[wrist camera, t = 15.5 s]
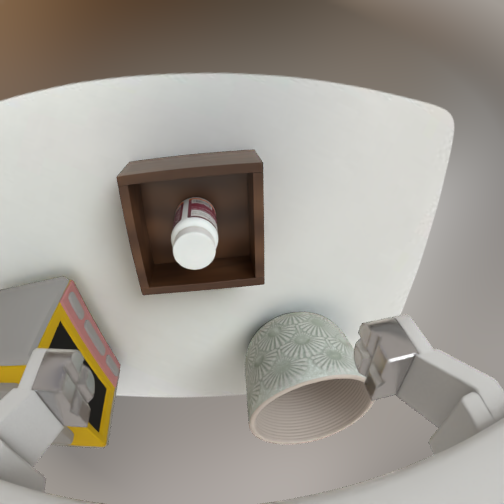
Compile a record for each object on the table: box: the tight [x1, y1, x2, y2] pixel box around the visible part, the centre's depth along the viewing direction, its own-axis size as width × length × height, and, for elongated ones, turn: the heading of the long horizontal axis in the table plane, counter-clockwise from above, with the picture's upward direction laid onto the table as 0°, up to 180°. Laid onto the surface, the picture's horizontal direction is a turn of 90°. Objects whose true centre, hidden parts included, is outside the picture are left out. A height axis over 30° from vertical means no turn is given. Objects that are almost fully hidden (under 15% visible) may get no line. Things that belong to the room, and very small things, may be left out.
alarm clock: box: [0, 276, 120, 448], centre depth 35 cm, size 20×16×18 cm
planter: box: [245, 312, 374, 444], centre depth 43 cm, size 17×17×15 cm
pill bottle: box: [171, 197, 218, 270], centre depth 33 cm, size 5×5×8 cm
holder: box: [117, 150, 264, 295], centre depth 35 cm, size 14×14×6 cm
